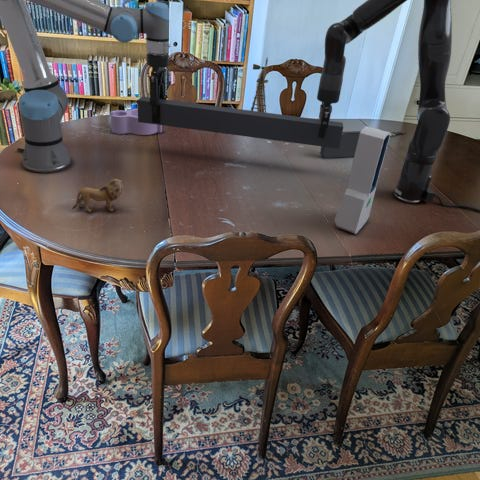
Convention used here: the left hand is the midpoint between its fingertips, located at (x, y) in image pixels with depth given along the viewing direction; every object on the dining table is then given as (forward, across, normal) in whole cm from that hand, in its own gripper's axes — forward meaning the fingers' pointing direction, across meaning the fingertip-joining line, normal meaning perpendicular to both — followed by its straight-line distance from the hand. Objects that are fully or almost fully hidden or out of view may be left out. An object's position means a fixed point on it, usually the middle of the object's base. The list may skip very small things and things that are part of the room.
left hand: (158, 120), depth 171 cm
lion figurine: (+12, -47, +4) cm, 49 cm away
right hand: (-2, 0, -59) cm, 59 cm away
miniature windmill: (+12, +43, -33) cm, 56 cm away
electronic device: (+13, -35, -70) cm, 80 cm away
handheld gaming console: (+13, +21, -72) cm, 76 cm away
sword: (+13, +50, -92) cm, 106 cm away
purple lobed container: (+12, +19, +14) cm, 27 cm away
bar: (+1, 0, -30) cm, 30 cm away
